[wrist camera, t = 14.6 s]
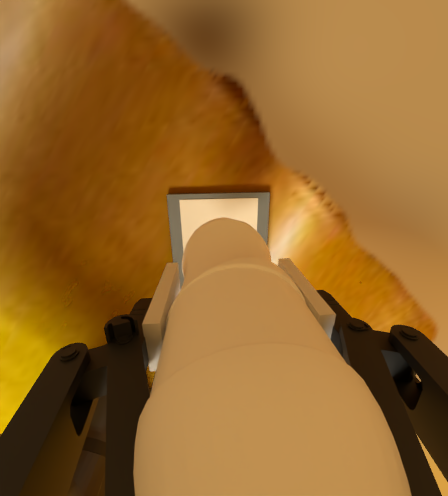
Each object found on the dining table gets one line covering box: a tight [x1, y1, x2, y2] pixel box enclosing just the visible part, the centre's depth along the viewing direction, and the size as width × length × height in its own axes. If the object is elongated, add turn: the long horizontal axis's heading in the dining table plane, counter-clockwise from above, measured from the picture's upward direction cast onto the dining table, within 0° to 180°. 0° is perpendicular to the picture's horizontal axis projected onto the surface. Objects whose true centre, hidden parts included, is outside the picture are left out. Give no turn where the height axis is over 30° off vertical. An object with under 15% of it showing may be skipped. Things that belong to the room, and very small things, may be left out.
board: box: [167, 192, 270, 290], centre depth 30 cm, size 12×18×1 cm, turn 1°
